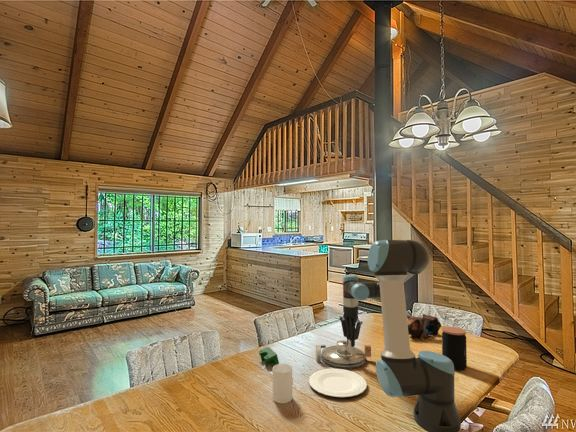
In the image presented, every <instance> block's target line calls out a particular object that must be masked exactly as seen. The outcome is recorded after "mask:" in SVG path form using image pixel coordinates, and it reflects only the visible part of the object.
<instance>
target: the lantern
mask: <svg viewBox="0 0 576 432" xmlns="http://www.w3.org/2000/svg"><path fill="white" fill-rule="evenodd" d="M407 322H408V333H409V336H411V337H415V338H418V339H421V340H425V339H426V338H427V337H428V338H430V336H431V335H435V336H438V335H439V331H440V329H441V327H442V324H441V321H440V320H439V318H438V317H436V316H432V315H427V314H425V313H423V314H422V317H420V316H414V315H408V316H407Z"/></svg>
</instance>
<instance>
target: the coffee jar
mask: <svg viewBox="0 0 576 432" xmlns="http://www.w3.org/2000/svg"><path fill="white" fill-rule="evenodd" d="M441 331H442V332H441V350H442V351H441V354H442V355H444V356H446V357H448V358H449V359H450V360H451V361H452V362H453V364H454V371H458V372H461V371H465V370H466V369H467V367H468V366H467V365H468V364H467V363H468V362H467V361H468V358H467V336H466V334H467V330H465V329H464V328H461V327H458V326H457V327H456V326H449V325H448V326H442V328H441Z"/></svg>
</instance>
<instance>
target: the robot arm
mask: <svg viewBox="0 0 576 432" xmlns="http://www.w3.org/2000/svg"><path fill="white" fill-rule="evenodd" d="M429 262H430V254H429V251H428V249H427V248H426V247H425V245H423V244H422V243H421V242H419V241H417V240H413V239H382V240H376V241H373V243H371V245H370V247H369V249H368V253H367V266H368V269H369V271H371V272H373V273H374V277H375V278H376V279H377V280H378V281H372V282H371V281H367V282H366V281H363V282H360V281H359V277H358V275H356V274H344V275H343V278H342V288H343V289H342V290H343V291H342V293H343V294H342V305H343V306H342V307H343V308H342V313H343V315H342V316H340V317H339V320H340V324H341V327H342V334H343V338H346V341H347V345H348V353H353V352H354V347H355V346H356V340H358V339H359V336H360V331H361V328H362V327H361V326H362V325H363V323H364V322H363V321H361V320H360V318H359V316H358V315H359V301H366V300H367V299H380V305H381V306H380V307H381V318H382V319H381V320H382V329H383V342H384V343H383V344H384V350H382V352H380V359H379V360H376V363H375V373H376V378H377V381H378V383H379V385H380V387H381V389H382V391H383V392H384V394H385V395H386V396H388V397H392V398H395V397H396V398H397V397H398V398H402V397H410V396H411V397H413V396H418V397H417V399H416V402H415V404H414V407H413V419H414V421H415V422H416V423H417V425H419V426H420V427H421V428H423V429H425V430H427V431H429V432H460V430H461V428H462V427H461V425H462V424H461V418H460V415H459V412H458V409H457V405H456V403H455V374H456V372H455V370H454V364H453V362H452V361H451V360H450V359H449V358H448V357H446V356H444V355H442V353H439V352H436V351H435V352H434V351H431V350H430V351H429V350H420V351H419V352H418V353H417V357H416V354H415V353H414V352H413V351H412V350H411V346H410V337H409V336H410V335H409V333H408V322H407V313H408V312H407V303H406V293H405V284H404V283H406V282H407V281H408V280H409V279H411V278H412V277H413V276H414V275H415V276H416V275H420V274H421V273H422V272H423V271H425V270H426V269H427V267H428V266H429Z"/></svg>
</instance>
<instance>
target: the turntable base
mask: <svg viewBox="0 0 576 432" xmlns="http://www.w3.org/2000/svg"><path fill="white" fill-rule="evenodd" d="M325 348H327V345H323V344H322V345H320V344H316V345H315V362H316V363H323V364H324V365H327V366H328V367H332V368H333V369H343V370H354V369H355V370H356V369H359V368H362V367H363V366H365V365H366V362H367V357H365V359H364V361H363V362H361V363H358V364H354V365H340V364H335V363H331V362H329V361H327V360H325V359H324V358H323V357H322V349H325Z"/></svg>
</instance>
